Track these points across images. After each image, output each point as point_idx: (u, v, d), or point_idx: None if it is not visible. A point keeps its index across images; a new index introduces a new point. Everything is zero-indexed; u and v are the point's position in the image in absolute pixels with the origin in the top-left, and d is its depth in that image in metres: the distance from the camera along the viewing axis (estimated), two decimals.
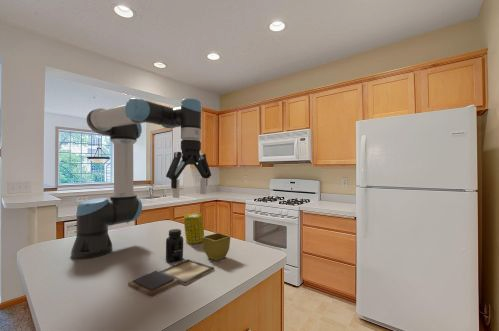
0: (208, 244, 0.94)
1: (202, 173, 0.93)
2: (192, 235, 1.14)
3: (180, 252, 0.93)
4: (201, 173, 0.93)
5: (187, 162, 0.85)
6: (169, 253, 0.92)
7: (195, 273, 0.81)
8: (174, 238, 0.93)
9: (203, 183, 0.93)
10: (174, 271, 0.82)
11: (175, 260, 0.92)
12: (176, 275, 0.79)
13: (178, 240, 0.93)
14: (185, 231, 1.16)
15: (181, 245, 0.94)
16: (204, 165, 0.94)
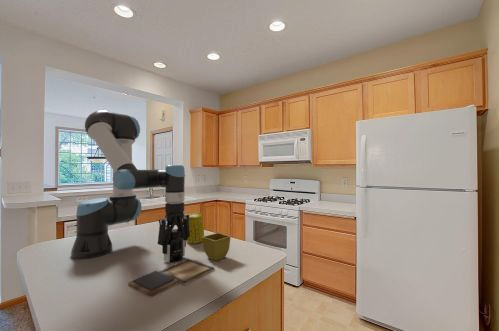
0: (208, 244, 0.94)
1: (181, 234, 0.98)
2: (192, 235, 1.14)
3: (180, 252, 0.93)
4: None
5: (172, 226, 0.92)
6: None
7: (195, 273, 0.81)
8: (174, 238, 0.93)
9: None
10: (174, 271, 0.82)
11: (175, 260, 0.92)
12: (176, 275, 0.79)
13: (178, 240, 0.93)
14: None
15: (181, 245, 0.94)
16: (185, 225, 0.99)
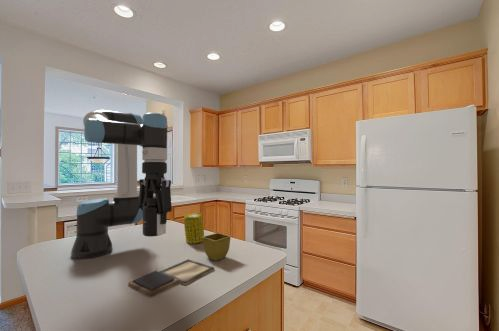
0: (208, 244, 0.94)
1: None
2: (192, 235, 1.14)
3: (144, 225, 0.72)
4: None
5: (145, 189, 0.75)
6: None
7: (195, 273, 0.81)
8: (146, 205, 0.74)
9: None
10: (174, 271, 0.82)
11: None
12: (176, 275, 0.79)
13: (144, 208, 0.73)
14: (185, 231, 1.16)
15: (146, 216, 0.72)
16: None
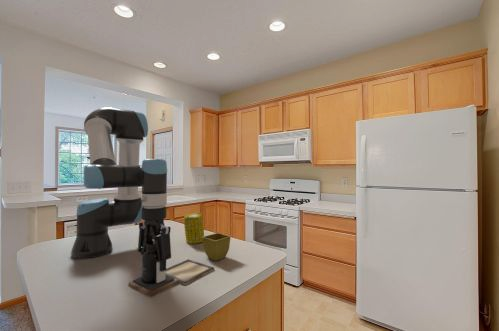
0: (208, 244, 0.94)
1: None
2: (192, 235, 1.14)
3: (144, 272, 0.72)
4: None
5: (145, 234, 0.75)
6: None
7: (195, 273, 0.81)
8: None
9: None
10: (174, 271, 0.82)
11: (142, 278, 0.73)
12: (176, 275, 0.79)
13: (143, 255, 0.72)
14: (185, 231, 1.16)
15: (145, 263, 0.72)
16: None
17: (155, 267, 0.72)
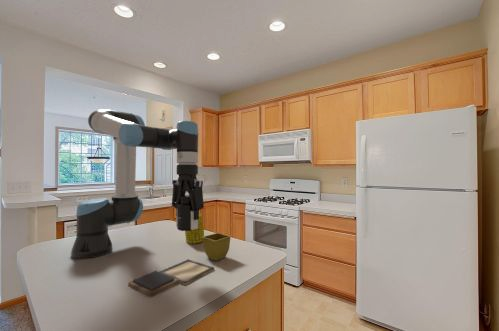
0: (208, 244, 0.94)
1: None
2: (192, 235, 1.14)
3: (179, 220, 0.81)
4: None
5: (179, 189, 0.84)
6: None
7: (195, 273, 0.81)
8: (180, 203, 0.83)
9: None
10: (174, 271, 0.82)
11: (177, 227, 0.82)
12: (176, 275, 0.79)
13: (179, 205, 0.81)
14: (185, 231, 1.16)
15: (181, 213, 0.81)
16: None
17: (189, 216, 0.81)
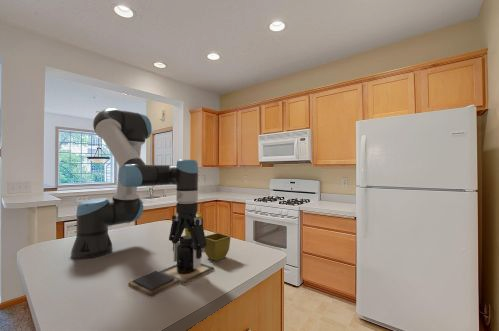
0: (208, 244, 0.94)
1: None
2: None
3: (179, 263, 0.81)
4: None
5: (178, 226, 0.84)
6: None
7: (195, 273, 0.81)
8: (179, 244, 0.83)
9: None
10: (174, 271, 0.82)
11: None
12: (176, 275, 0.79)
13: (178, 248, 0.81)
14: (185, 231, 1.16)
15: (180, 256, 0.80)
16: None
17: (189, 259, 0.81)
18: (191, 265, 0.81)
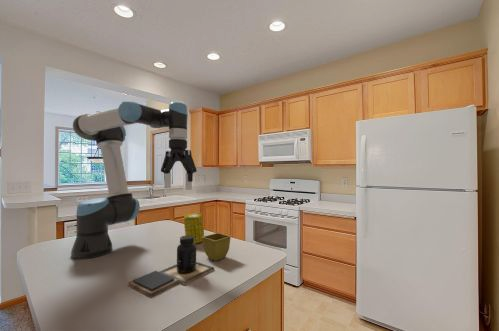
0: (208, 244, 0.94)
1: None
2: (192, 235, 1.14)
3: (179, 263, 0.81)
4: None
5: (169, 159, 0.99)
6: None
7: (195, 273, 0.81)
8: (179, 244, 0.83)
9: None
10: (174, 271, 0.82)
11: None
12: (176, 275, 0.79)
13: (178, 248, 0.81)
14: (185, 231, 1.16)
15: (180, 256, 0.80)
16: None
17: (189, 259, 0.81)
18: (191, 265, 0.81)
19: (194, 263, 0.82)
